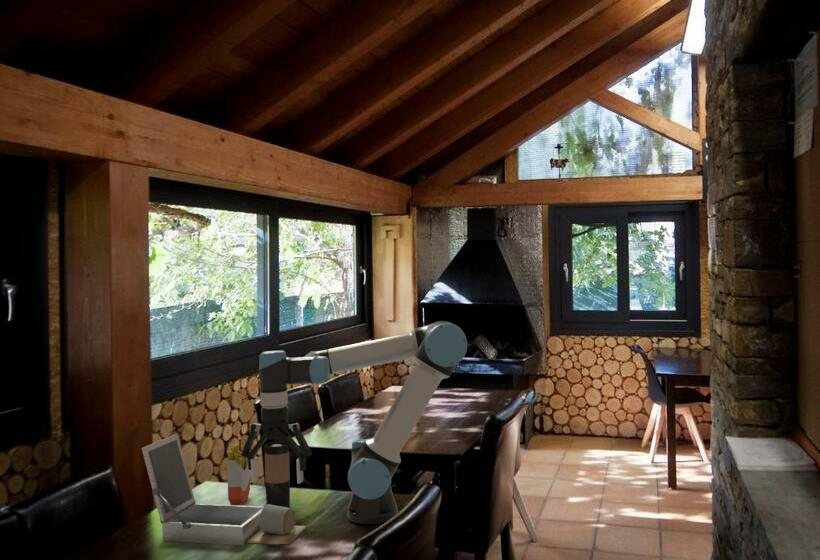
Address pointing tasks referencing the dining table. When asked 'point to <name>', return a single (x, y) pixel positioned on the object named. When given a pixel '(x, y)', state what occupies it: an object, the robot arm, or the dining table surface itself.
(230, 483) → the french fries container
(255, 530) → the equipment case
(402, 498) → the dining table surface
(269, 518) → the ceramic mug
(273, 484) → the travel mug
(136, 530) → the dining table surface
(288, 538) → the cork pad
